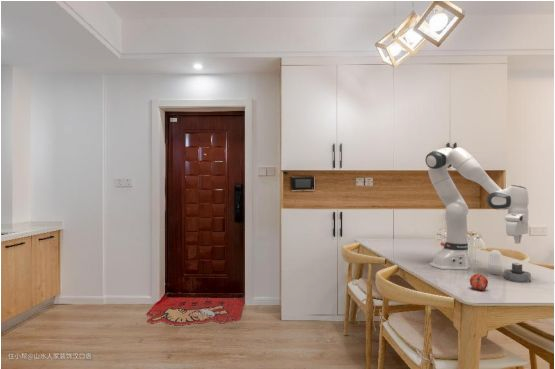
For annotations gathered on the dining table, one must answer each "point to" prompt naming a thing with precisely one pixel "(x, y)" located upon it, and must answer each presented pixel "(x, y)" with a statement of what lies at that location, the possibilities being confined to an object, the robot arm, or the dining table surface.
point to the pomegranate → (478, 282)
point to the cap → (516, 268)
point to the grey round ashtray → (517, 276)
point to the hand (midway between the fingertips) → (517, 243)
